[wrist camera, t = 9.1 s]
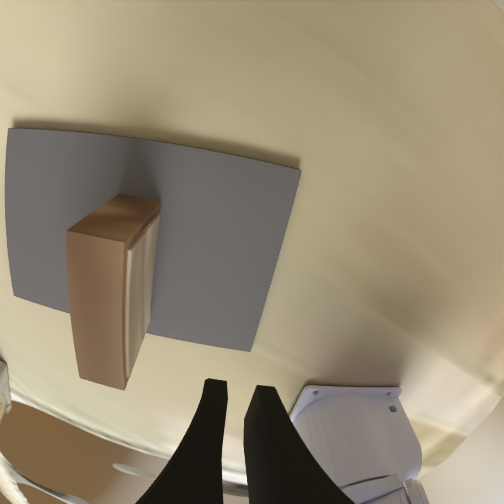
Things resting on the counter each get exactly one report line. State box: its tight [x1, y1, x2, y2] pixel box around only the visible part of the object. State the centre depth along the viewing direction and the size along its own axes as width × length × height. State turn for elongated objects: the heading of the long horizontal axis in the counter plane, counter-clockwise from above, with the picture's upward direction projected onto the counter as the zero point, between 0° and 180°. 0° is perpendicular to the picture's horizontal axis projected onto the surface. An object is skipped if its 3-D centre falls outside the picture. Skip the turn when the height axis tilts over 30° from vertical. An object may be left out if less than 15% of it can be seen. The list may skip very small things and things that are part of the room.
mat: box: [5, 128, 302, 352], centre depth 17 cm, size 18×12×1 cm, turn 77°
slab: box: [66, 194, 161, 391], centre depth 15 cm, size 3×8×6 cm, turn 167°
